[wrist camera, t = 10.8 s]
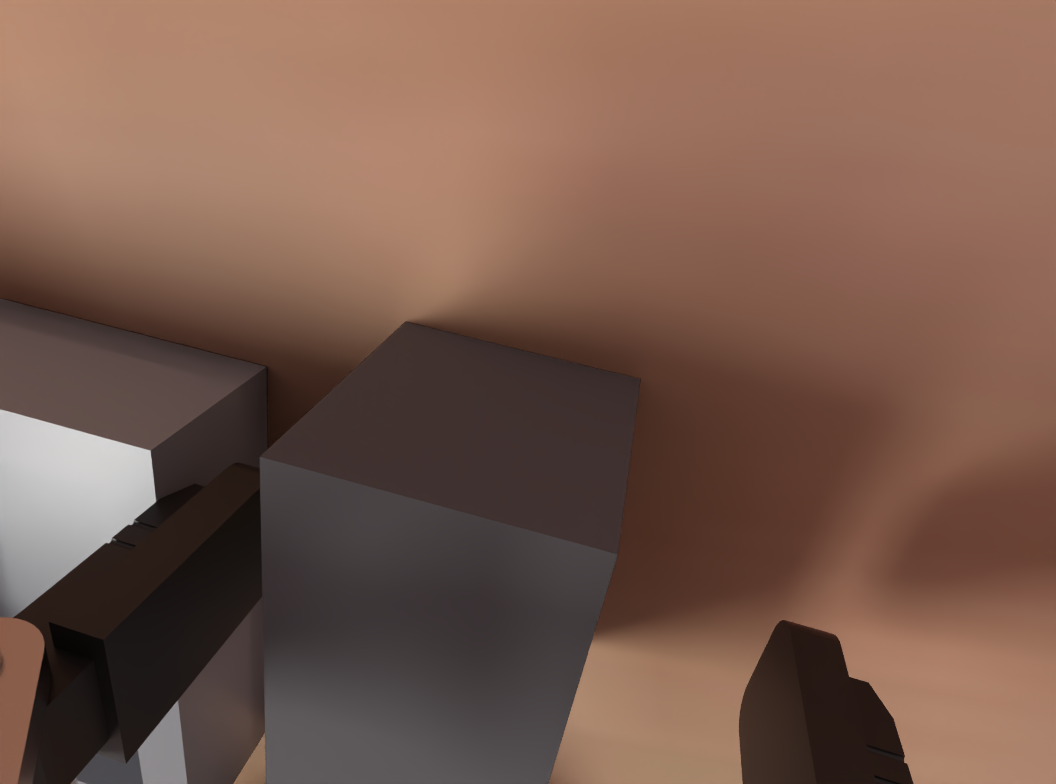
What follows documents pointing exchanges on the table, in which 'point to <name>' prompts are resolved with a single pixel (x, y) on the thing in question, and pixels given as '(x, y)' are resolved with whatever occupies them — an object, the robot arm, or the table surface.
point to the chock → (438, 562)
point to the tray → (127, 499)
